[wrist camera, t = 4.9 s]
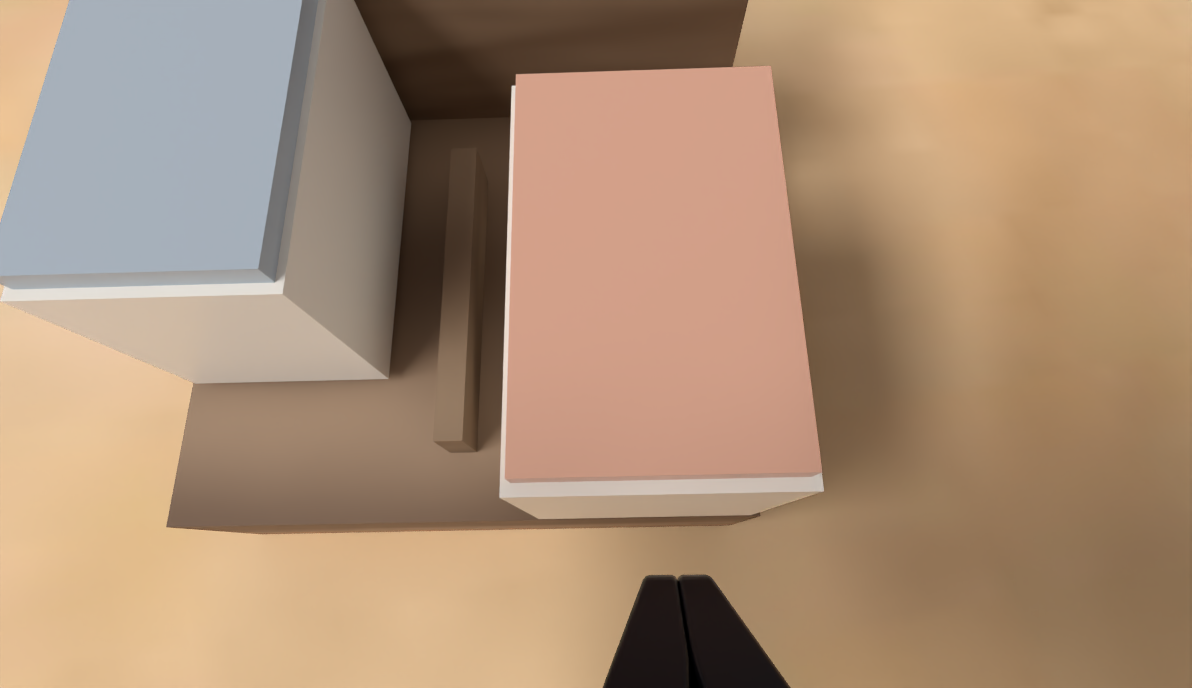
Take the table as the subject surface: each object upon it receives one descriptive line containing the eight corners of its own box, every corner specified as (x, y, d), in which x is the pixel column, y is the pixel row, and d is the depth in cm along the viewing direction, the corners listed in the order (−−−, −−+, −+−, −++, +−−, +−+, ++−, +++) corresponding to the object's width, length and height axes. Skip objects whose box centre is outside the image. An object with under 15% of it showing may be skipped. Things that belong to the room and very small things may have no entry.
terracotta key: (751, 514, 14) (835, 487, 8) (539, 519, 14) (493, 493, 9) (724, 221, 16) (778, 56, 11) (542, 226, 16) (507, 64, 11)
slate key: (388, 378, 15) (266, 280, 10) (195, 383, 15) (-30, 288, 10) (411, 123, 17) (321, -70, 12) (243, 128, 17) (80, -60, 12)
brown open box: (728, 525, 18) (849, 488, 9) (260, 533, 18) (-102, 508, 9) (699, 152, 22) (761, -146, 12) (313, 163, 22) (97, -120, 13)
